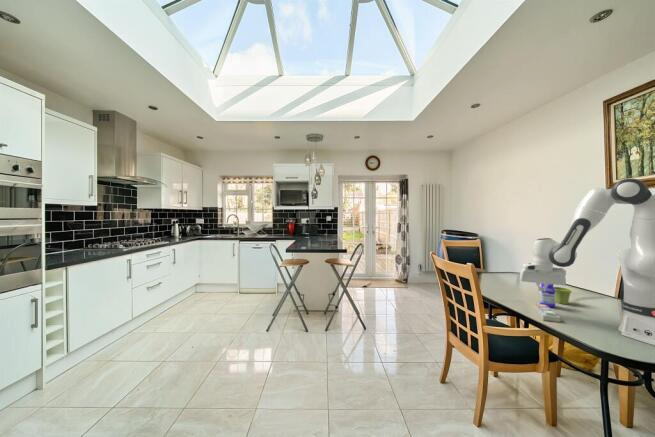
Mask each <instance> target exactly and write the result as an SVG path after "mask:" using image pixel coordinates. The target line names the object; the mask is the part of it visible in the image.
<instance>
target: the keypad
mask: <svg viewBox="0 0 655 437" xmlns="http://www.w3.org/2000/svg"><path fill="white" fill-rule="evenodd" d="M548 308H550V307H548ZM532 310H533V311H534V312H535V313H536V315H537V316H539V318H540V319H542V321H547V322H556V323H561V316H559V314H557V313H556V312H555V311H554V310H553V309H551V310H552V311H553V312H554V313H555V314H556V316H549V315H545V314H544V313H543V312H542V311H541V310H540V309H539V308H538V307H537V304H536V305H535V304H532Z"/></svg>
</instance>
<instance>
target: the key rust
mask: <svg viewBox="0 0 655 437" xmlns="http://www.w3.org/2000/svg"><path fill="white" fill-rule="evenodd" d="M536 305H537V307H538V308H539V309H540V307H545V308H548V306H546V305H542V304H540V303H536Z"/></svg>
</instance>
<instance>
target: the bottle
mask: <svg viewBox="0 0 655 437" xmlns="http://www.w3.org/2000/svg"><path fill="white" fill-rule="evenodd" d="M540 287H542V288H543V287H544V284H543V283H540ZM553 287H555V286H554V284H548V287H547V288H546V289H545V291H539V304H542V305H546V306H548V307H549V308H555V307H556V302H555V289H554V288H553Z"/></svg>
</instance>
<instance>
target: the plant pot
mask: <svg viewBox="0 0 655 437" xmlns="http://www.w3.org/2000/svg"><path fill="white" fill-rule="evenodd" d="M553 288H554V289H555V303H557V304H561V305H568V304H569V301H570V295H571V293H572V292H573V290H572V289H571V288H568V287H567V288H566V287H561V286H553Z"/></svg>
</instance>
